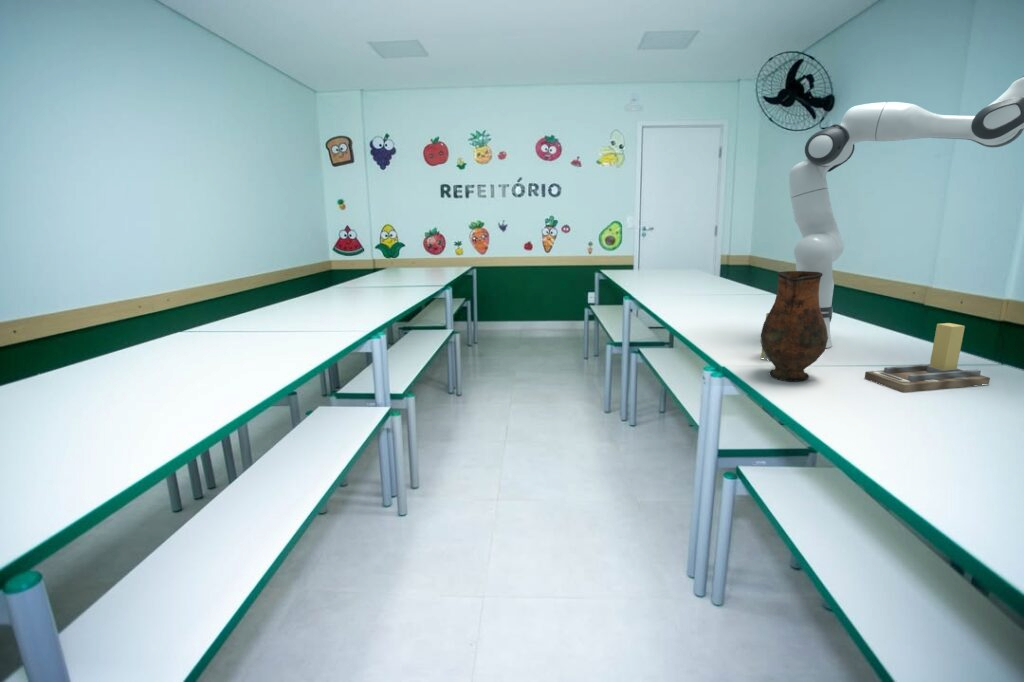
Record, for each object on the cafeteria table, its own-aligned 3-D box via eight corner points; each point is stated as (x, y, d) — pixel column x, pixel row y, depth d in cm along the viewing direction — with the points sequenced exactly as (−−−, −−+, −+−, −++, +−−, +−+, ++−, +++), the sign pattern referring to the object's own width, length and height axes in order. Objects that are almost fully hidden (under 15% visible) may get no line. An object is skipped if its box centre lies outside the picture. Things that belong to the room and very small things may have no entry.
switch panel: (944, 371, 143) (946, 360, 142) (988, 384, 132) (991, 372, 131) (864, 378, 140) (866, 366, 139) (903, 392, 128) (905, 379, 127)
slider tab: (941, 370, 138) (950, 322, 135) (957, 374, 134) (967, 326, 131) (926, 371, 138) (934, 323, 135) (942, 376, 133) (951, 327, 130)
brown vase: (750, 378, 142) (759, 274, 135) (768, 361, 158) (777, 267, 151) (816, 389, 132) (830, 276, 125) (829, 370, 148) (842, 269, 141)
